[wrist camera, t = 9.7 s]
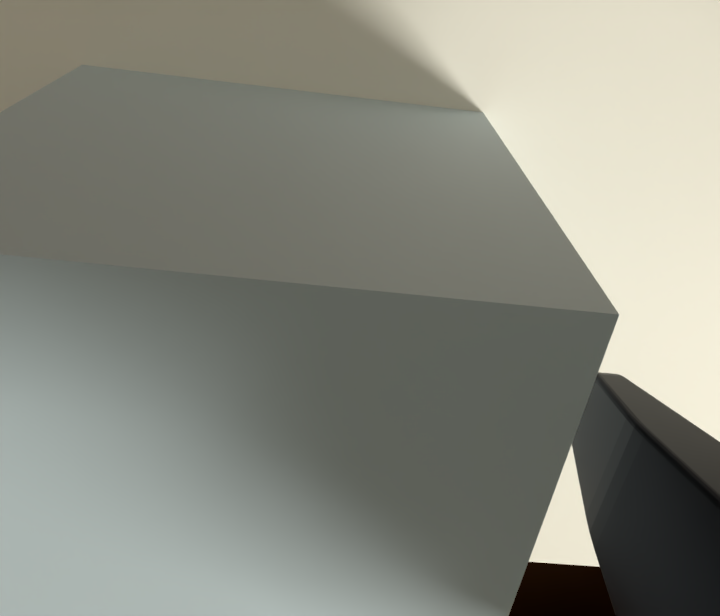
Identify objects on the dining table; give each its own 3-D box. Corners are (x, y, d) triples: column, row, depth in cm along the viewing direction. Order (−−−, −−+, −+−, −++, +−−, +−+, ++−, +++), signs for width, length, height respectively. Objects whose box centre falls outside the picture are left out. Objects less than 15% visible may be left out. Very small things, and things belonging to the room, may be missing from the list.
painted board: (-128, 418, 17) (-213, 510, 14) (-358, -317, 10) (-607, -398, 7) (636, 479, 18) (684, 572, 16) (907, -121, 11) (1072, -130, 9)
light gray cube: (109, 390, 13) (-49, 710, 8) (82, 64, 10) (-211, 233, 5) (419, 416, 13) (464, 736, 8) (483, 112, 10) (620, 314, 5)
